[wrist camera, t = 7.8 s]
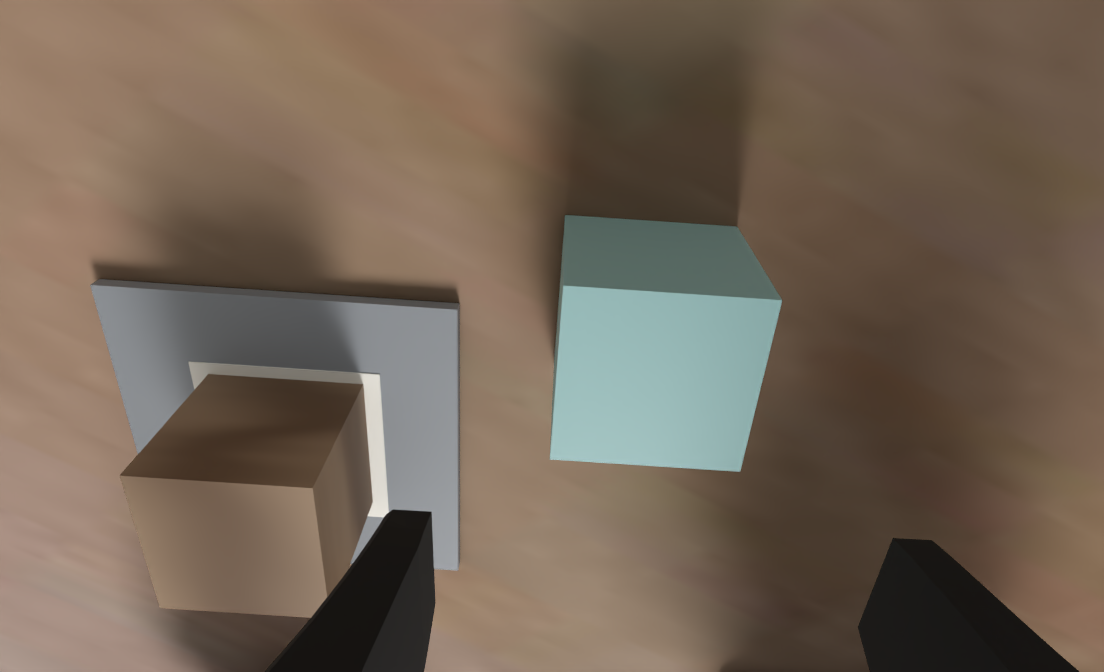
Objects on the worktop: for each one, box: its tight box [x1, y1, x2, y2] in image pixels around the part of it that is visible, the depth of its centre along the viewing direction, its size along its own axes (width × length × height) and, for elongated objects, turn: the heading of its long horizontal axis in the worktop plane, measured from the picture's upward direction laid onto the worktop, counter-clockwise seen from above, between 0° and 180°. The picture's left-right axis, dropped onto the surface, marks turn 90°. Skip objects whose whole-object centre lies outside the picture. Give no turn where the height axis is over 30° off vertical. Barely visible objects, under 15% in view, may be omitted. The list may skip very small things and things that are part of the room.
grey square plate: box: [90, 279, 460, 570], centre depth 21 cm, size 10×10×1 cm
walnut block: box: [120, 374, 373, 618], centre depth 19 cm, size 4×4×4 cm
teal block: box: [550, 215, 782, 472], centre depth 17 cm, size 4×4×4 cm
